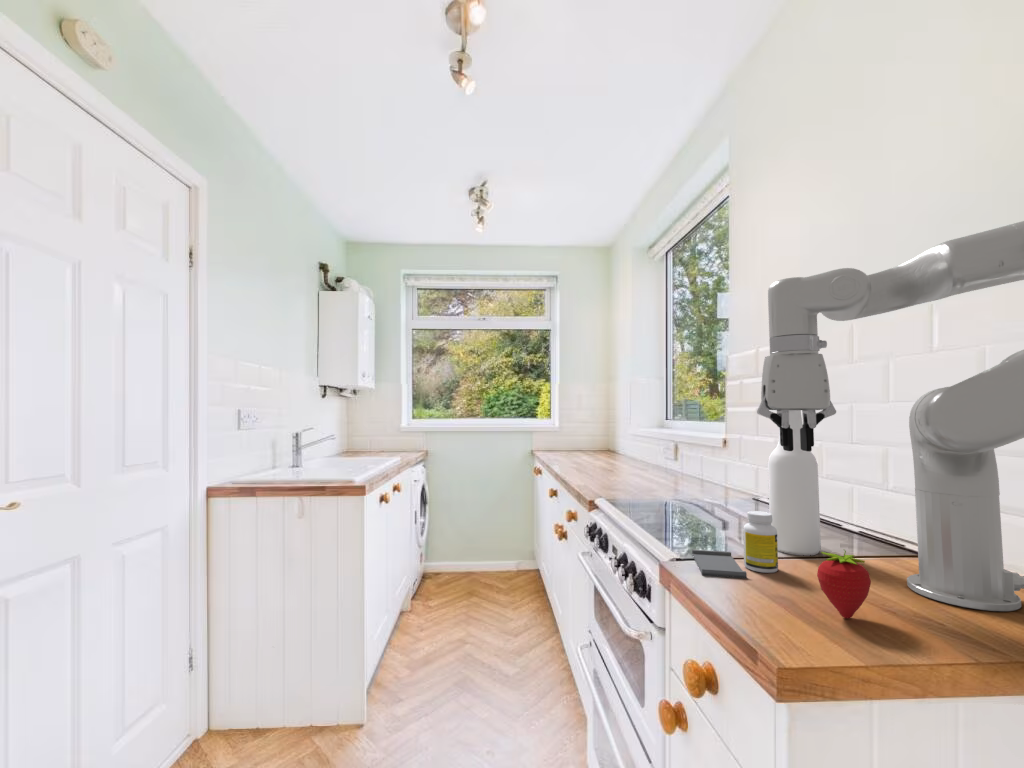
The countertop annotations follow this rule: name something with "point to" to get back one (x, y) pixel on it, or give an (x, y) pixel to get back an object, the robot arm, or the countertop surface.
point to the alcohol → (794, 495)
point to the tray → (717, 564)
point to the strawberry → (844, 582)
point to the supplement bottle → (760, 543)
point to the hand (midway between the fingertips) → (797, 449)
